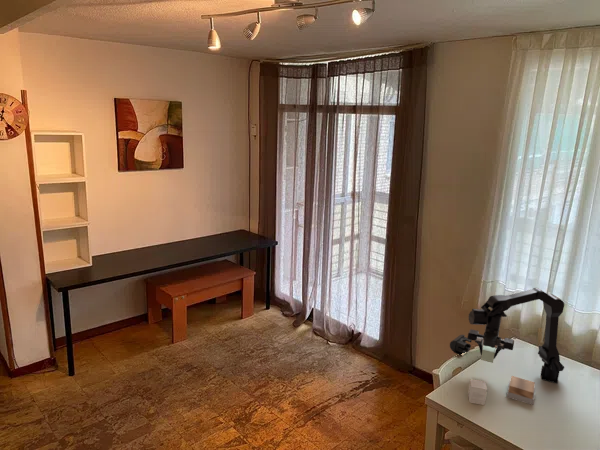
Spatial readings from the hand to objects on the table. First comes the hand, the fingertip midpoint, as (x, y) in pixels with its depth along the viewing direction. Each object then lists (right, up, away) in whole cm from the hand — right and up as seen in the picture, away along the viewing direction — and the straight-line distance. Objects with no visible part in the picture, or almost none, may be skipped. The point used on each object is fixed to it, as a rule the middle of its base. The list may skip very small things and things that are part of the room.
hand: (487, 356), depth 202 cm
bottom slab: (+10, -14, -10) cm, 20 cm away
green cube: (0, -1, 0) cm, 1 cm away
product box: (-11, -13, -15) cm, 23 cm away
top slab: (+9, -11, -11) cm, 18 cm away
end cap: (-4, -4, +25) cm, 26 cm away
